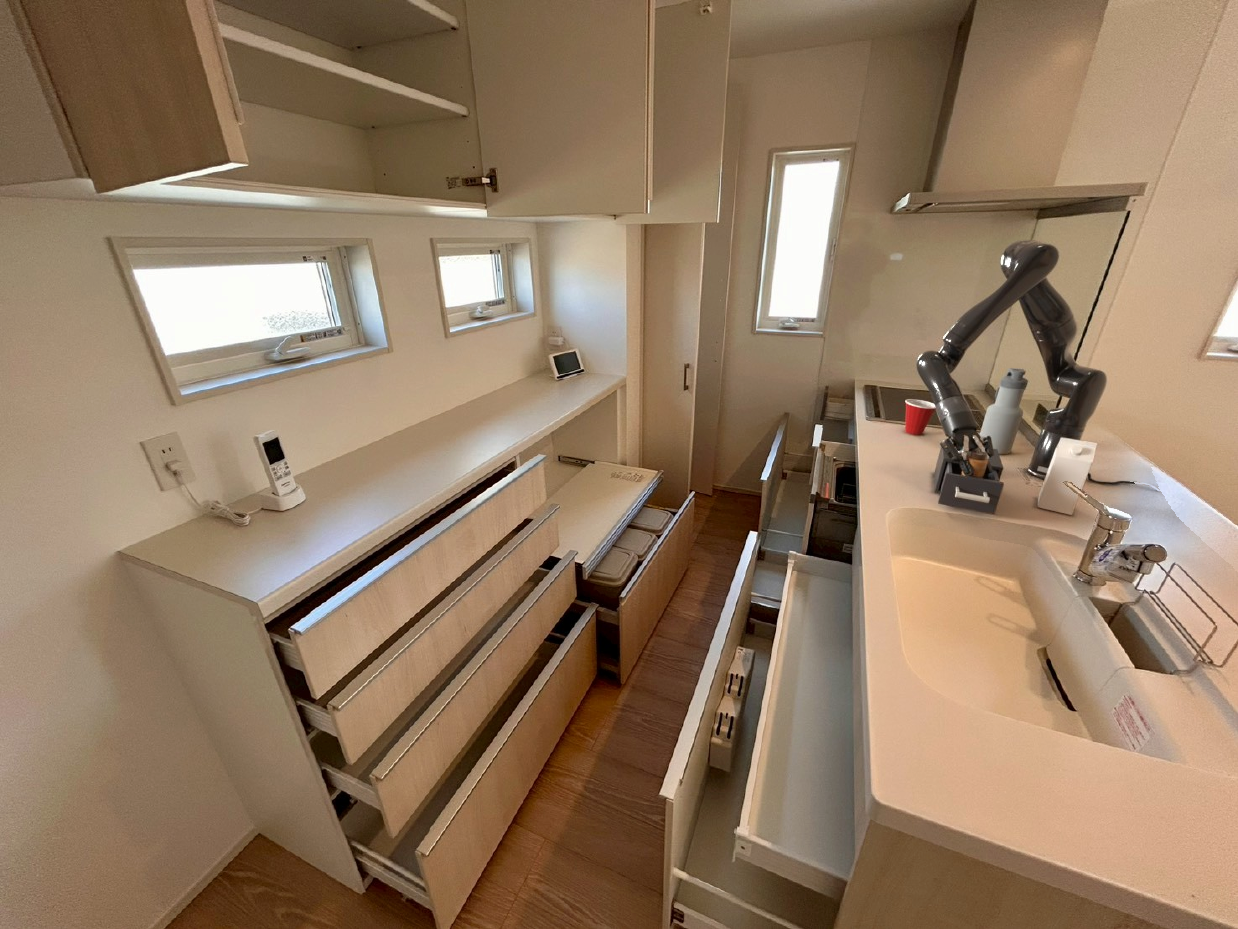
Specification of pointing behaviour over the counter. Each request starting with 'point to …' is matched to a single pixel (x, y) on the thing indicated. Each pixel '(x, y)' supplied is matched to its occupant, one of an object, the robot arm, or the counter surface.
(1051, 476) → the milk carton
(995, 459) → the small drawer unit
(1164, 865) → the counter surface
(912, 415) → the plastic cup
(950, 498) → the drawer
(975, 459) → the pepper mill
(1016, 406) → the water bottle
